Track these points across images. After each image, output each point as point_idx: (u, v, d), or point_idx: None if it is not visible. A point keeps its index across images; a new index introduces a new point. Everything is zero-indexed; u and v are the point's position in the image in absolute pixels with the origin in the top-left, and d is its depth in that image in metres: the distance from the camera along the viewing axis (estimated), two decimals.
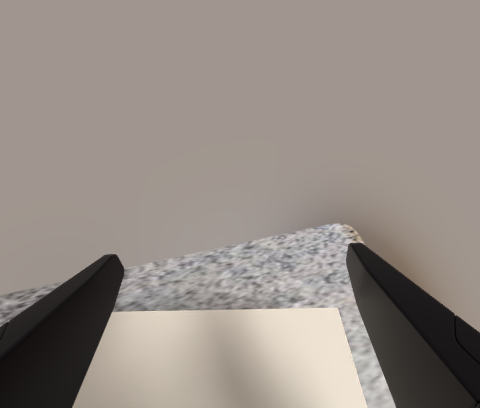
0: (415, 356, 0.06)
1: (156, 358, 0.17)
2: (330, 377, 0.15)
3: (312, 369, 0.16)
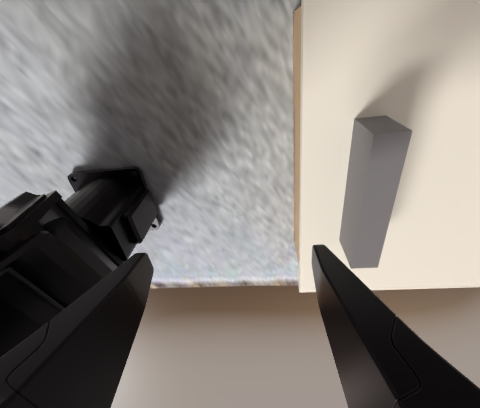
0: (356, 356, 0.06)
1: None
2: (440, 273, 0.18)
3: (452, 263, 0.17)
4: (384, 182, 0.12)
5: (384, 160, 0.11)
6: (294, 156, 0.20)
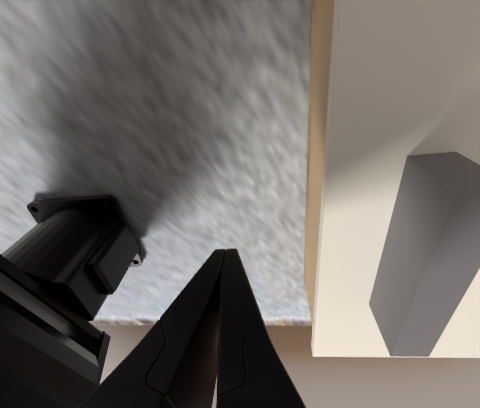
0: None
1: None
2: None
3: None
4: (459, 260, 0.07)
5: (467, 231, 0.07)
6: (307, 186, 0.15)
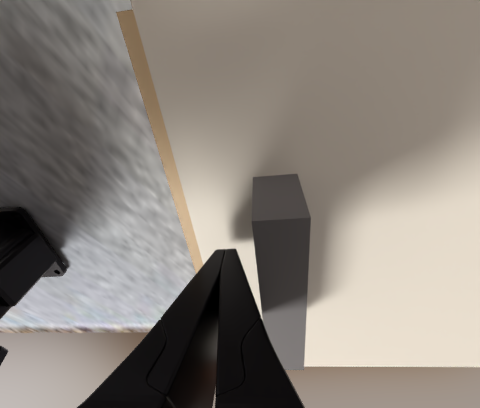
0: None
1: None
2: (402, 352, 0.14)
3: (414, 343, 0.13)
4: (285, 280, 0.08)
5: (278, 254, 0.07)
6: None
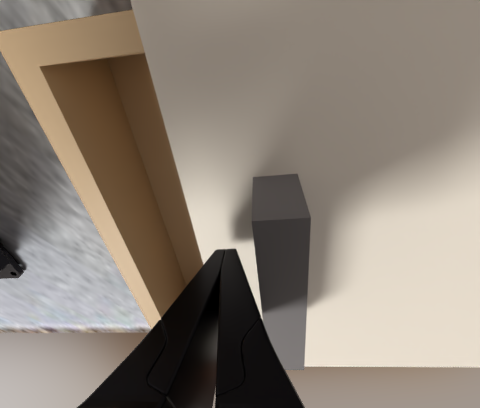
0: None
1: None
2: (402, 352, 0.14)
3: (415, 343, 0.13)
4: (285, 280, 0.08)
5: (278, 254, 0.07)
6: None
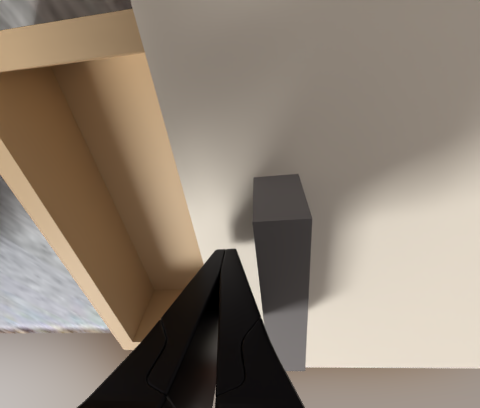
0: None
1: None
2: (404, 353, 0.14)
3: (416, 344, 0.13)
4: (286, 281, 0.08)
5: (279, 255, 0.07)
6: None
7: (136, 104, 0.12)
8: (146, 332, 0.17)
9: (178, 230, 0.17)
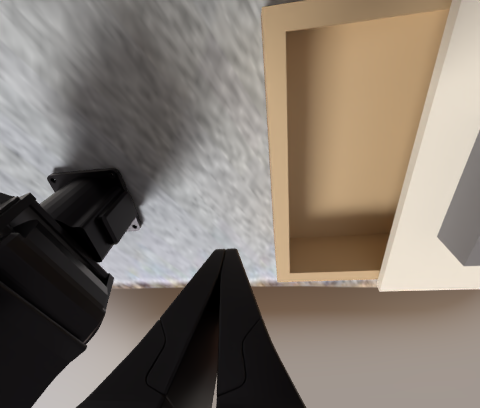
0: None
1: None
2: None
3: None
4: None
5: None
6: (269, 158, 0.20)
7: (337, 65, 0.15)
8: (298, 266, 0.20)
9: (329, 179, 0.20)
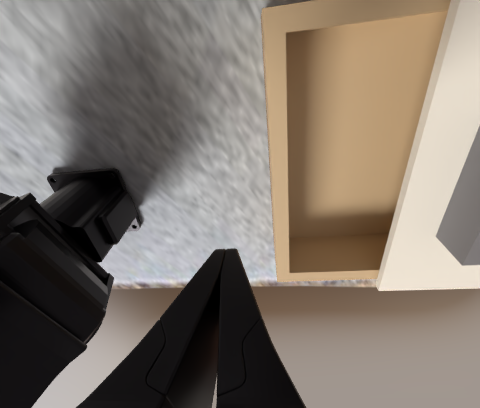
0: None
1: None
2: None
3: None
4: None
5: None
6: None
7: (336, 66, 0.16)
8: (297, 266, 0.20)
9: (328, 179, 0.20)
